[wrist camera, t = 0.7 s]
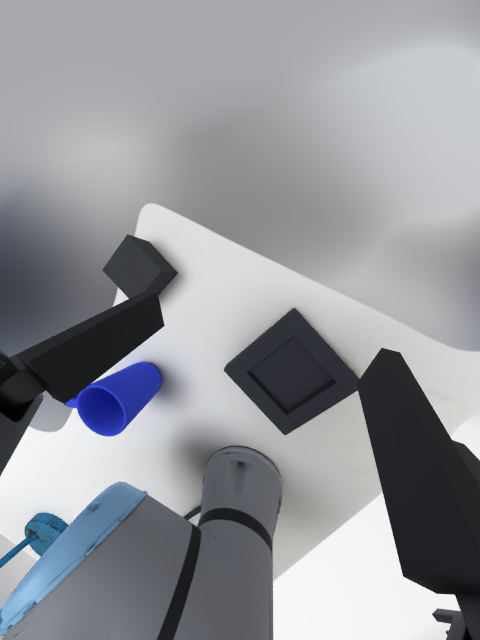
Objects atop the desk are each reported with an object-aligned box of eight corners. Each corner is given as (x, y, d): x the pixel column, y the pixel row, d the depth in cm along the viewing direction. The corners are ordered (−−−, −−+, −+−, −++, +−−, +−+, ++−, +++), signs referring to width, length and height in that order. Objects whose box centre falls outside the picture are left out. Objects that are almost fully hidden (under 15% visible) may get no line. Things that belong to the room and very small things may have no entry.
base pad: (284, 425, 32) (284, 435, 29) (226, 364, 31) (223, 370, 29) (358, 377, 28) (365, 385, 26) (293, 307, 27) (295, 309, 25)
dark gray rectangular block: (153, 301, 31) (134, 304, 27) (125, 272, 31) (102, 270, 27) (177, 272, 29) (161, 270, 25) (148, 241, 29) (127, 234, 25)
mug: (110, 354, 35) (48, 380, 26) (165, 357, 33) (121, 388, 23) (116, 391, 37) (60, 429, 27) (169, 397, 35) (129, 440, 25)
